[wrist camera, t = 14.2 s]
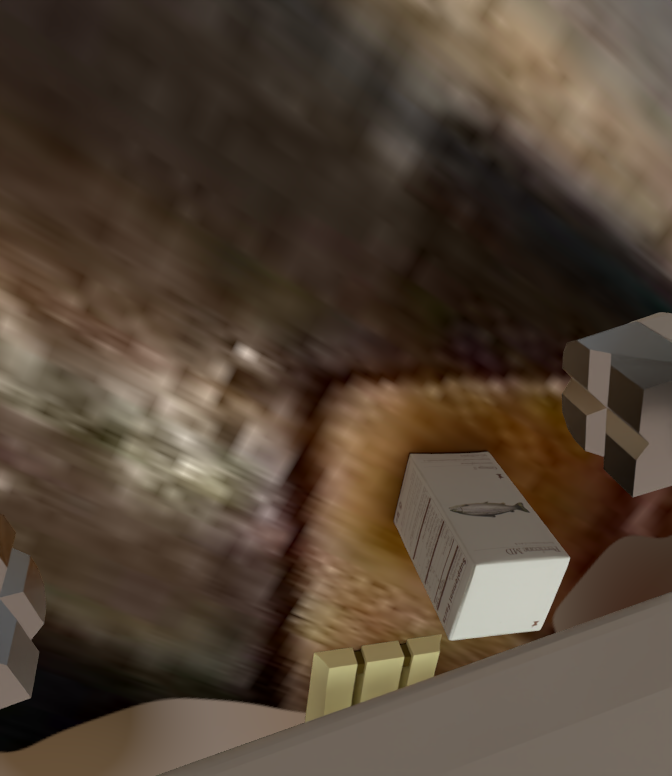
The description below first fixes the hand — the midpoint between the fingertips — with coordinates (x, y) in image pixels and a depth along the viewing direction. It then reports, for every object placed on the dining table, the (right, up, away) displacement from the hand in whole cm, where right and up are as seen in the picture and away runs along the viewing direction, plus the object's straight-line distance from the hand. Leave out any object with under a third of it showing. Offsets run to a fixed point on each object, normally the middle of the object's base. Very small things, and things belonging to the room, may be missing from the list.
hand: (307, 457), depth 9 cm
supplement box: (+9, -7, +44) cm, 46 cm away
